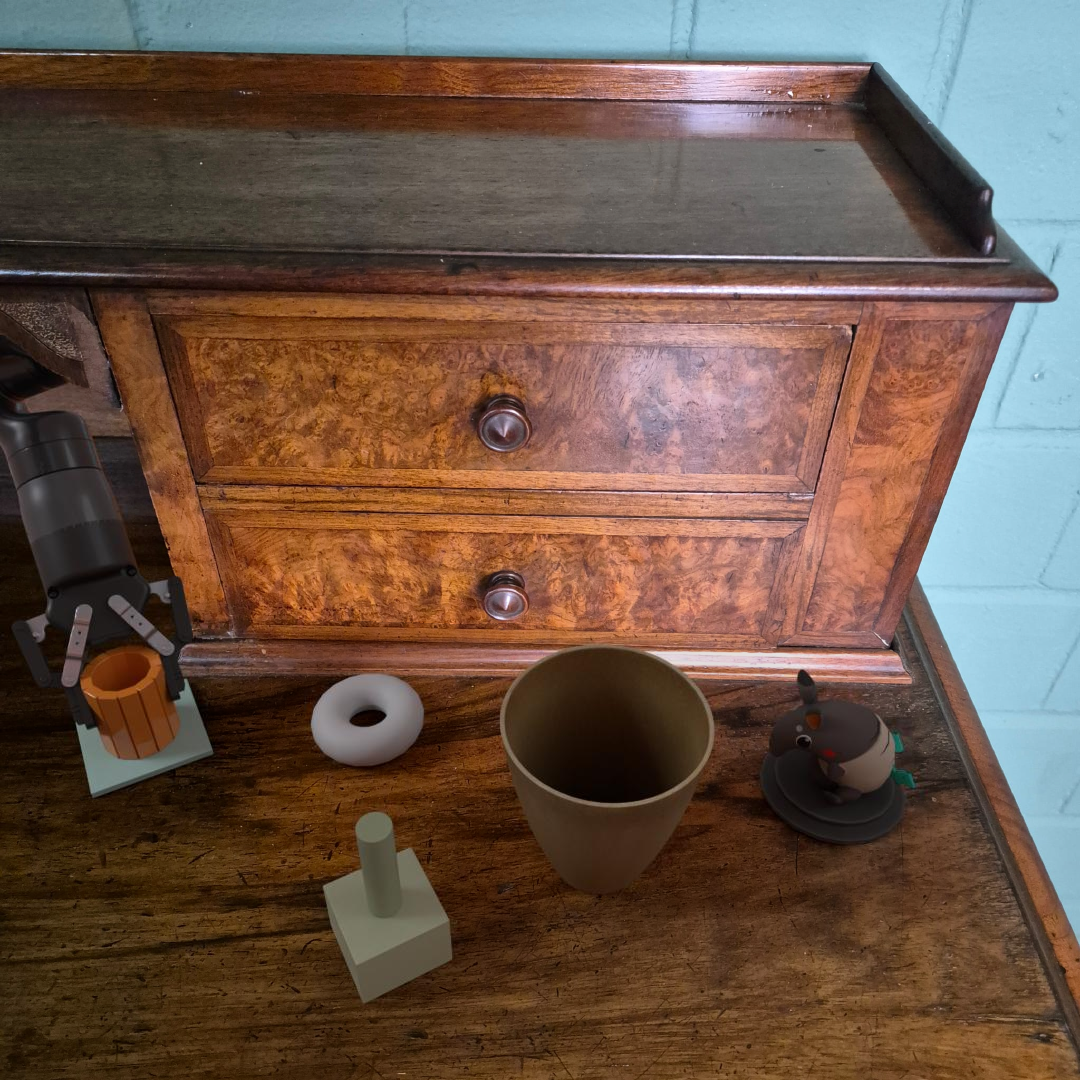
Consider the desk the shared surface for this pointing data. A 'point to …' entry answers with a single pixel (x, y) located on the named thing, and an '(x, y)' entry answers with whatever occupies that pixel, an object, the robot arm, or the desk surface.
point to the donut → (375, 740)
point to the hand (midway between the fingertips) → (135, 713)
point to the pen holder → (130, 701)
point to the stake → (386, 913)
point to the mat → (120, 772)
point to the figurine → (834, 770)
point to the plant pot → (604, 758)
